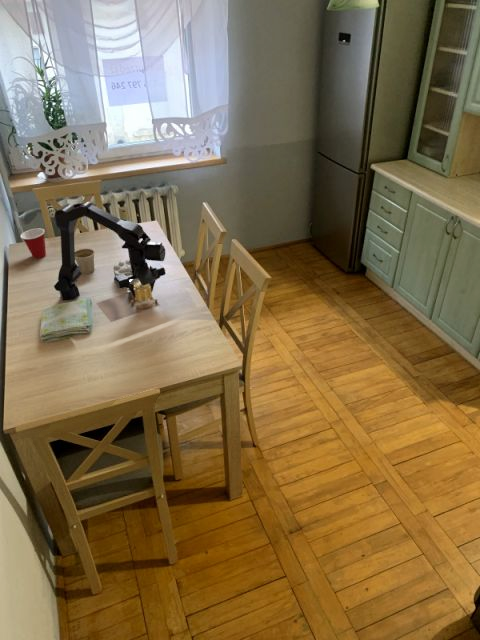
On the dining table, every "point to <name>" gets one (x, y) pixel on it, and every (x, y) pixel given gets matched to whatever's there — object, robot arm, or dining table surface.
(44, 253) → the plastic cup
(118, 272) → the grey paw block
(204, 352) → the dining table surface
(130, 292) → the gear
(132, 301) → the board
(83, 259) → the flower pot
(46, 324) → the towel
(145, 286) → the loose gear
